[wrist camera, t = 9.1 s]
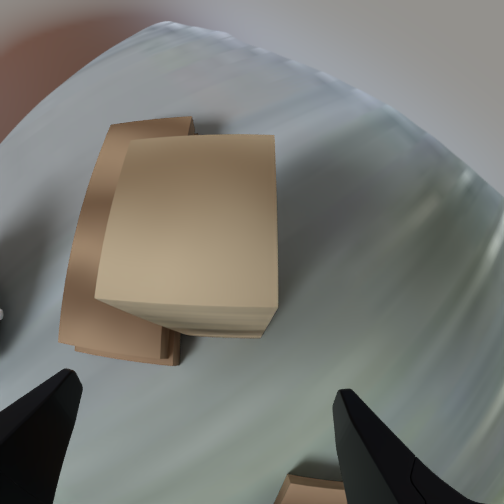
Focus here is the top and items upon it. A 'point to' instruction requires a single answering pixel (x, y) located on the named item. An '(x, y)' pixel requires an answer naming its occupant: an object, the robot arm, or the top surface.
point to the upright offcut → (195, 235)
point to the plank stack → (88, 258)
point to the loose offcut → (310, 491)
